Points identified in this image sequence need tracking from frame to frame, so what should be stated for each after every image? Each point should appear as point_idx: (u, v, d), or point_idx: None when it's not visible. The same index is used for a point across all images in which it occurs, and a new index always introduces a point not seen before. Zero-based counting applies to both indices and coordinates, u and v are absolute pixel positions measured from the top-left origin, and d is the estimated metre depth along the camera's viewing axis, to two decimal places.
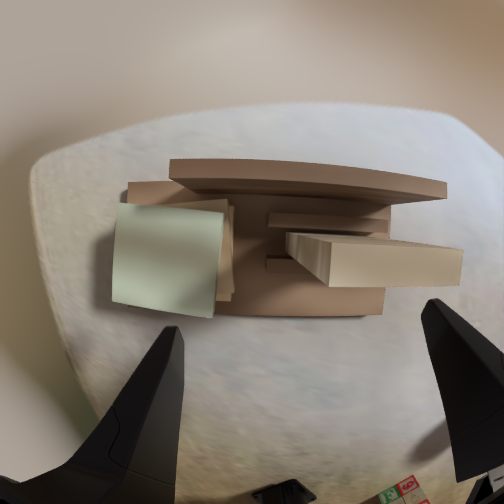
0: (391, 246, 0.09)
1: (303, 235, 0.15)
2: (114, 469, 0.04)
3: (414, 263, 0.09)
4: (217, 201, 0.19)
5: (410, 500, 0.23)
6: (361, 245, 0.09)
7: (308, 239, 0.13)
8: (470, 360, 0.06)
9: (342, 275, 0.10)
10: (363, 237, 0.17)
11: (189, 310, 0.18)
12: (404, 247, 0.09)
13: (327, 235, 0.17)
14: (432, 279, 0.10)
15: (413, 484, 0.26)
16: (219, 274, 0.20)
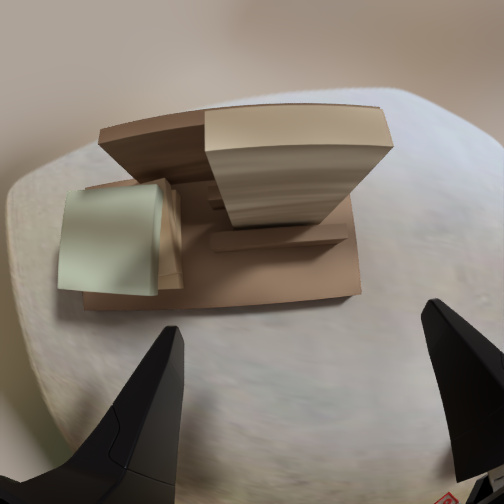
0: (277, 106, 0.08)
1: None
2: (114, 468, 0.04)
3: (314, 120, 0.08)
4: (156, 181, 0.18)
5: None
6: (239, 108, 0.08)
7: None
8: (470, 360, 0.06)
9: (220, 138, 0.08)
10: None
11: (127, 288, 0.16)
12: (294, 106, 0.08)
13: None
14: (347, 136, 0.08)
15: (451, 502, 0.17)
16: (160, 253, 0.18)
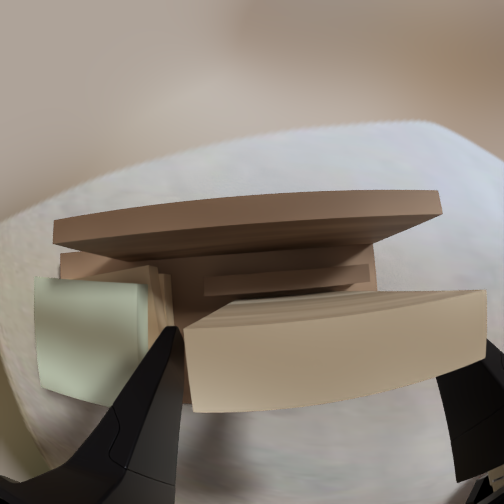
0: (326, 320, 0.04)
1: (226, 306, 0.10)
2: (114, 469, 0.04)
3: (388, 344, 0.04)
4: (137, 269, 0.15)
5: None
6: (251, 328, 0.04)
7: None
8: None
9: (217, 391, 0.04)
10: (329, 295, 0.12)
11: None
12: (358, 316, 0.04)
13: (275, 300, 0.12)
14: (431, 365, 0.04)
15: None
16: None
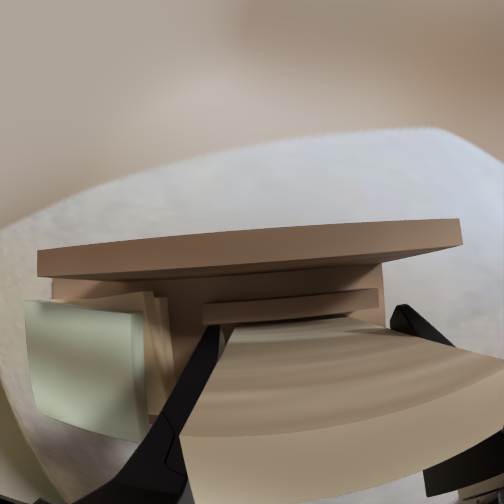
0: (345, 425, 0.03)
1: (227, 349, 0.09)
2: (174, 478, 0.04)
3: (409, 439, 0.03)
4: (131, 295, 0.13)
5: None
6: (258, 438, 0.03)
7: None
8: None
9: (221, 490, 0.03)
10: (337, 329, 0.11)
11: (114, 432, 0.11)
12: (382, 418, 0.03)
13: (279, 335, 0.11)
14: (449, 448, 0.03)
15: None
16: (147, 388, 0.13)
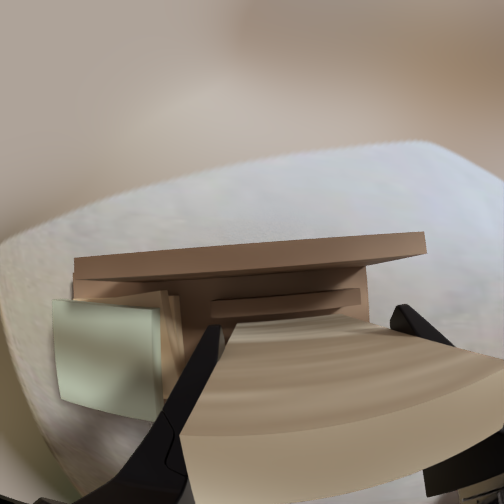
0: (345, 425, 0.03)
1: (227, 349, 0.09)
2: (174, 478, 0.04)
3: (409, 439, 0.03)
4: (150, 294, 0.16)
5: None
6: (258, 437, 0.03)
7: None
8: None
9: (221, 490, 0.03)
10: (337, 328, 0.11)
11: (133, 413, 0.14)
12: (381, 418, 0.03)
13: (279, 334, 0.11)
14: (449, 447, 0.03)
15: None
16: (163, 374, 0.16)
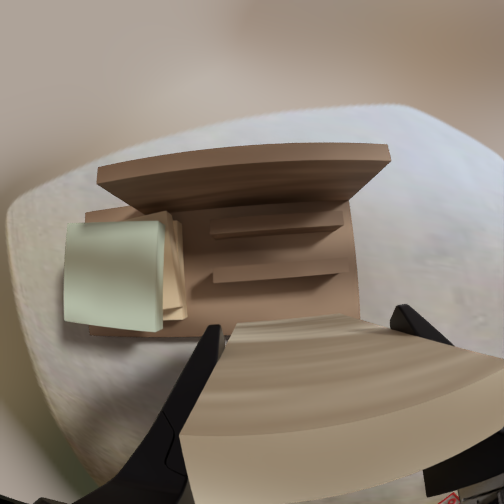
0: (345, 424, 0.03)
1: (227, 349, 0.09)
2: (174, 478, 0.04)
3: (410, 438, 0.03)
4: (157, 214, 0.19)
5: None
6: (257, 437, 0.03)
7: None
8: None
9: (220, 490, 0.03)
10: (337, 328, 0.11)
11: (133, 324, 0.16)
12: (382, 417, 0.03)
13: (279, 334, 0.11)
14: (450, 447, 0.03)
15: (455, 501, 0.17)
16: (164, 288, 0.18)
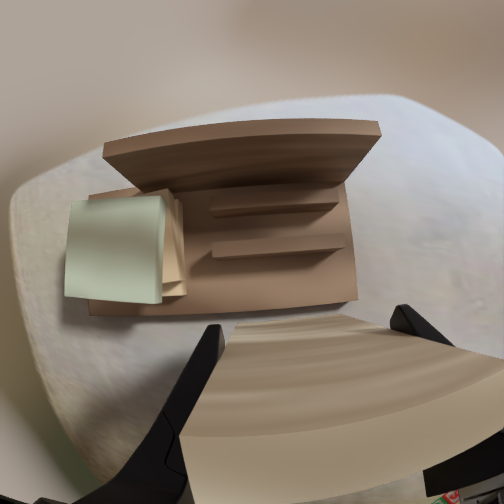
0: (345, 425, 0.03)
1: (227, 349, 0.09)
2: (174, 478, 0.04)
3: (409, 439, 0.03)
4: (159, 191, 0.19)
5: None
6: (258, 438, 0.03)
7: None
8: None
9: (221, 490, 0.03)
10: (337, 329, 0.11)
11: (132, 297, 0.17)
12: (382, 418, 0.03)
13: (279, 335, 0.11)
14: (450, 448, 0.03)
15: None
16: (164, 262, 0.19)
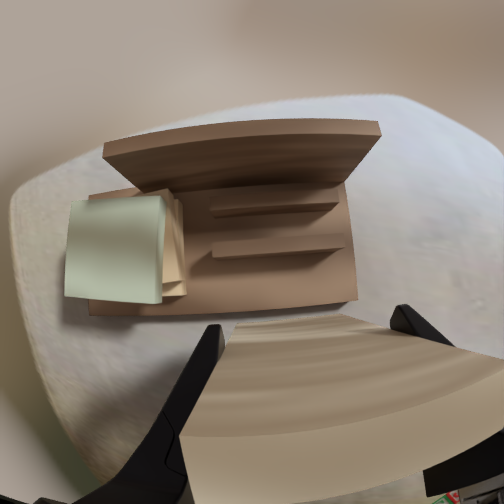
0: (345, 425, 0.03)
1: (227, 349, 0.09)
2: (174, 478, 0.04)
3: (409, 439, 0.03)
4: (159, 191, 0.19)
5: None
6: (258, 438, 0.03)
7: None
8: None
9: (221, 490, 0.03)
10: (337, 329, 0.11)
11: (132, 297, 0.17)
12: (382, 418, 0.03)
13: (279, 334, 0.11)
14: (450, 448, 0.03)
15: None
16: (164, 262, 0.19)
